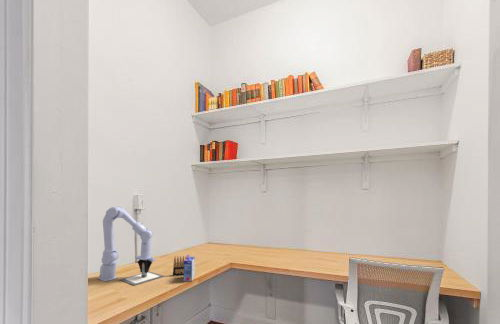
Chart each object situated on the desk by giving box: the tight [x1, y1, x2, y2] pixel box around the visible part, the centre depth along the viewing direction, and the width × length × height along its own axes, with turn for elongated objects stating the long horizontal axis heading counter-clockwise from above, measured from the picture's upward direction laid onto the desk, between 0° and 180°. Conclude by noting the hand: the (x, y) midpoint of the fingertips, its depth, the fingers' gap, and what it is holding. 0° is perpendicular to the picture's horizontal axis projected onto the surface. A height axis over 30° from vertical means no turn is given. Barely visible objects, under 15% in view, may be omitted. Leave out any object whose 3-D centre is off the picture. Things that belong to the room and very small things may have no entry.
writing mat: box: [119, 270, 164, 286], centre depth 155 cm, size 16×20×1 cm
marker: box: [141, 263, 147, 277], centre depth 156 cm, size 3×3×8 cm
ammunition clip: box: [172, 255, 190, 277], centre depth 163 cm, size 11×2×12 cm, turn 100°
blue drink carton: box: [183, 254, 196, 282], centre depth 155 cm, size 10×6×14 cm, turn 2°
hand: (144, 272), depth 156 cm, fingers closed on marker, 3 cm apart
